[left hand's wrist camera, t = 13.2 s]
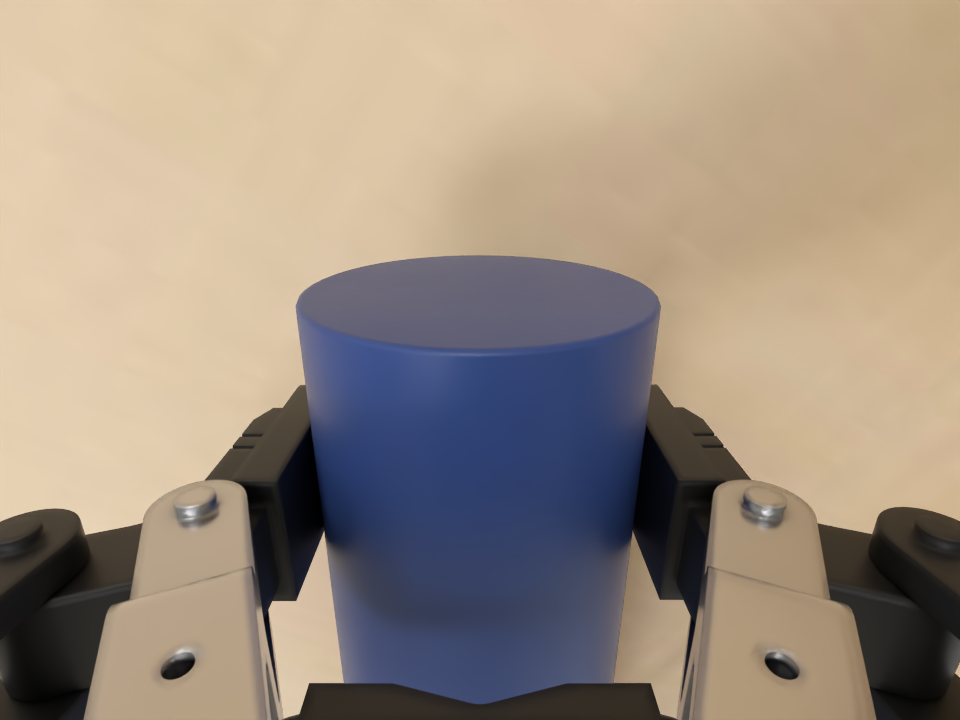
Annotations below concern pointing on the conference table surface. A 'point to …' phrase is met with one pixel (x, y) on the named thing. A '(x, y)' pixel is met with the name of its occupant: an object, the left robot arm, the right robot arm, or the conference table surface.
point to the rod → (478, 466)
